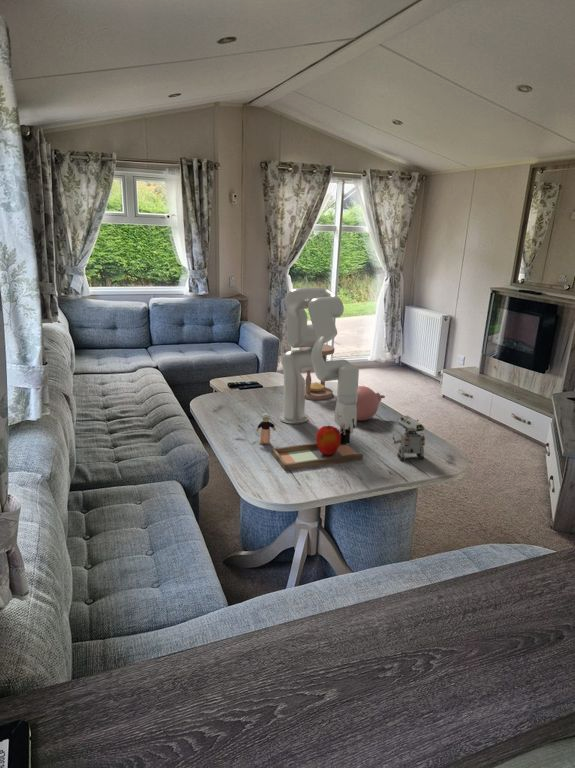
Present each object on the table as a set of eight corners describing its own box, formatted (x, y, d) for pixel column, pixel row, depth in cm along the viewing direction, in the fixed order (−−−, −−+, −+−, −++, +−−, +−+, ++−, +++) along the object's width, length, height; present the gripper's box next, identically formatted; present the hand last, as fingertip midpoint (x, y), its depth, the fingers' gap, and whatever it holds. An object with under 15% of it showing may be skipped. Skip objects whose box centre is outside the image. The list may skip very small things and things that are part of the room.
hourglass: (316, 387, 284) (317, 342, 277) (339, 395, 272) (341, 348, 264) (291, 393, 273) (292, 346, 266) (314, 402, 261) (316, 353, 253)
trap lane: (271, 453, 202) (271, 448, 201) (345, 444, 212) (345, 439, 211) (284, 470, 188) (284, 465, 188) (362, 459, 199) (363, 454, 198)
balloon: (392, 422, 237) (395, 389, 232) (352, 427, 230) (354, 393, 225) (375, 411, 250) (377, 379, 246) (337, 415, 244) (338, 383, 239)
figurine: (413, 449, 208) (416, 413, 204) (425, 461, 198) (429, 424, 193) (391, 450, 207) (394, 414, 203) (402, 463, 196) (405, 425, 192)
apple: (313, 457, 199) (314, 427, 195) (318, 448, 207) (319, 419, 204) (337, 461, 196) (338, 431, 193) (342, 451, 205) (343, 422, 201)
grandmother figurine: (257, 445, 209) (257, 415, 205) (255, 442, 212) (255, 412, 209) (276, 444, 211) (276, 414, 207) (274, 440, 214) (274, 410, 211)
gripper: (329, 392, 203) (327, 437, 208) (346, 404, 190) (344, 452, 195) (347, 390, 205) (345, 434, 211) (365, 402, 192) (362, 449, 197)
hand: (344, 443), depth 203 cm, fingers closed
